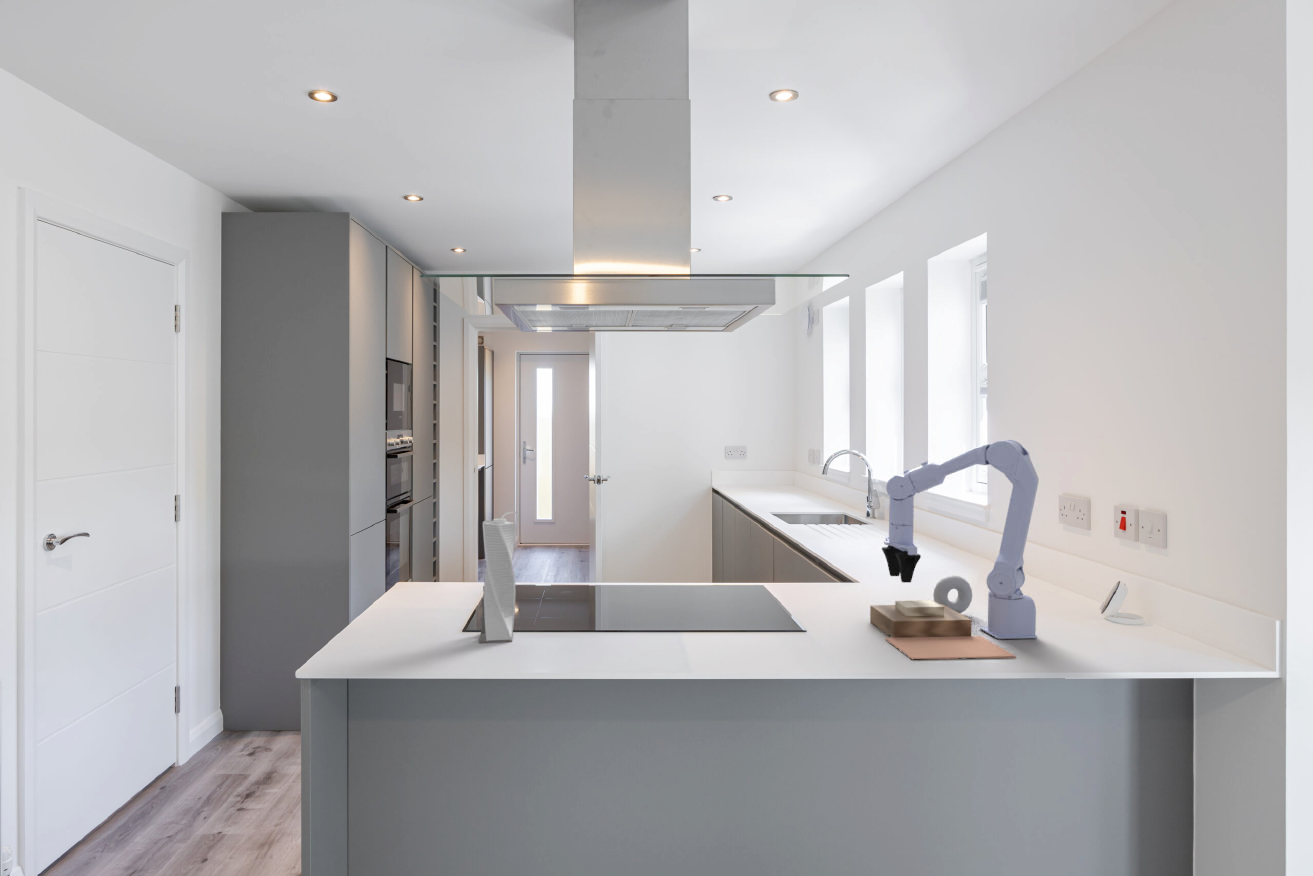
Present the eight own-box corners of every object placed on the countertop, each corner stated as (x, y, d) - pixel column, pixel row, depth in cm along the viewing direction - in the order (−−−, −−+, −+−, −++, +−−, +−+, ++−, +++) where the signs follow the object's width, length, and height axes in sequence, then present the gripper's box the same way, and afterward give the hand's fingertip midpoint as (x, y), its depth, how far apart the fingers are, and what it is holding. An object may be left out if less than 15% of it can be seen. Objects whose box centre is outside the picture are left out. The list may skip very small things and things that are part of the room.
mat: (980, 637, 168) (980, 636, 168) (1015, 657, 154) (1015, 656, 154) (885, 639, 166) (885, 637, 166) (911, 660, 152) (911, 658, 152)
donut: (937, 617, 185) (938, 577, 185) (930, 614, 189) (930, 574, 188) (974, 616, 187) (975, 576, 186) (967, 612, 190) (967, 573, 190)
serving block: (942, 620, 182) (942, 604, 182) (971, 637, 168) (971, 619, 168) (870, 621, 181) (870, 605, 181) (893, 639, 167) (893, 621, 167)
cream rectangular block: (932, 608, 178) (932, 600, 178) (943, 615, 172) (944, 606, 172) (895, 609, 177) (895, 600, 177) (905, 616, 171) (905, 607, 171)
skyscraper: (519, 632, 170) (519, 509, 170) (518, 643, 162) (518, 513, 162) (480, 633, 169) (480, 509, 168) (478, 644, 161) (478, 514, 160)
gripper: (874, 520, 192) (873, 573, 192) (897, 528, 177) (896, 585, 178) (901, 519, 192) (900, 572, 193) (926, 528, 178) (925, 585, 178)
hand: (900, 579), depth 185 cm, fingers open, 6 cm apart
